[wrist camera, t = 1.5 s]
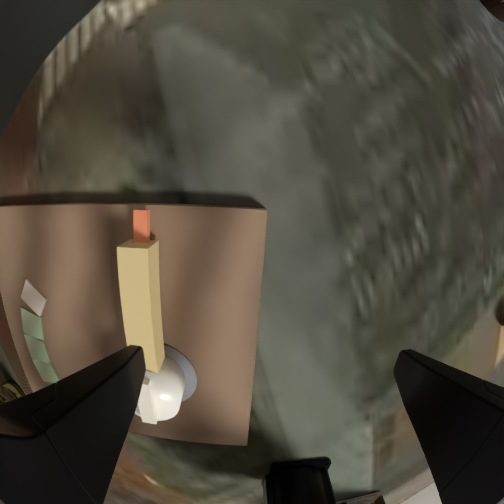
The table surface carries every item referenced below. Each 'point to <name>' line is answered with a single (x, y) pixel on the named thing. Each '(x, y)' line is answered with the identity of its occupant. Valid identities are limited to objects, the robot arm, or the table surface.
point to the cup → (9, 392)
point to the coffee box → (366, 499)
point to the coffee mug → (495, 8)
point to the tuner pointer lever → (148, 322)
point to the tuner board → (171, 296)
